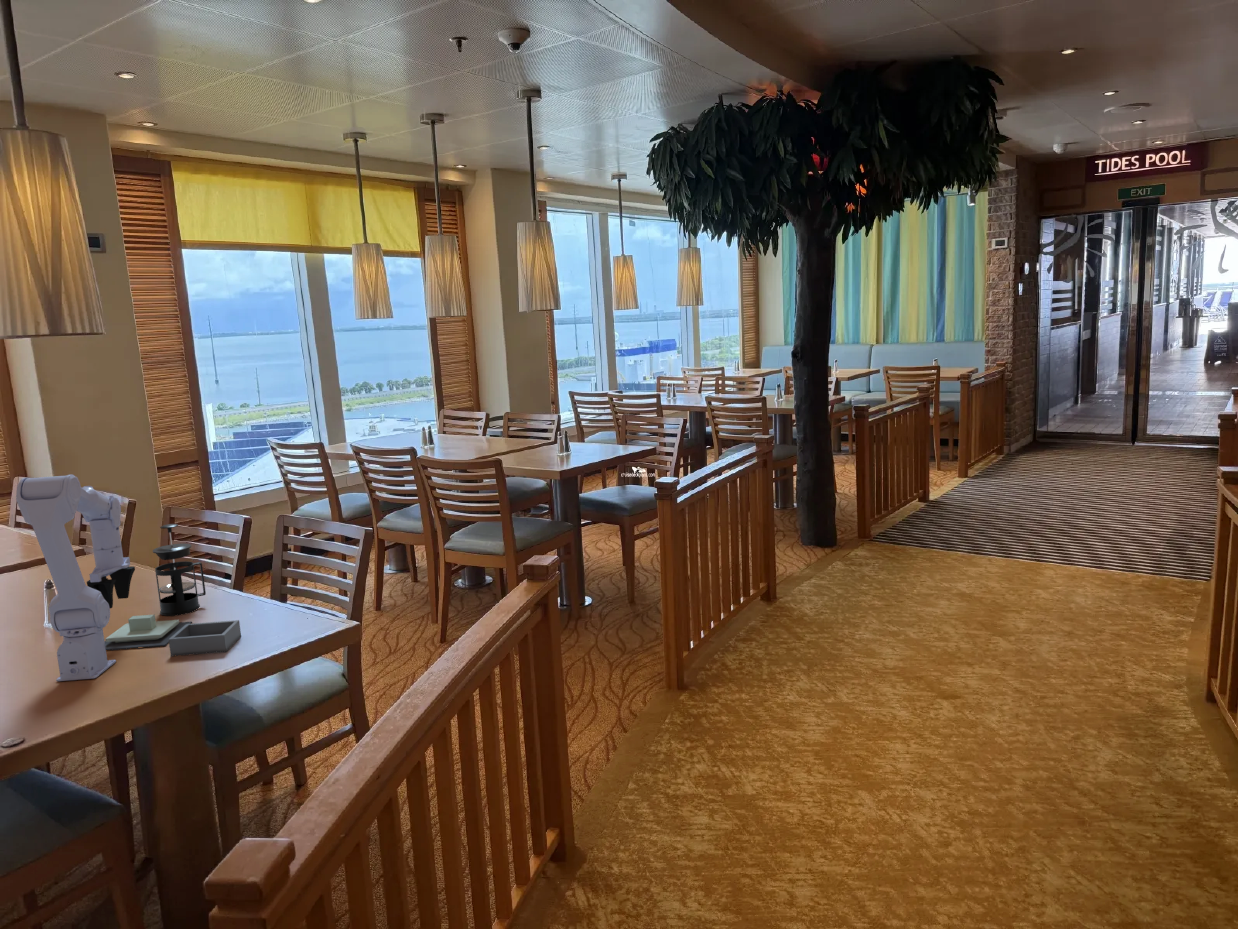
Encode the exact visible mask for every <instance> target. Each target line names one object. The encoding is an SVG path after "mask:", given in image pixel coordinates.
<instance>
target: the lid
mask: <svg viewBox="0 0 1238 929" xmlns="http://www.w3.org/2000/svg"><path fill="white" fill-rule="evenodd" d="M127 620H128V623H125V624H123V625H122V626H120V628H118V629H117V630H116V631H114V632H113V633H111V634H110V635H108V636H107V637H106V638H104V641H106V642H112V641H115V642H130V641H143V640H156V639H159V638H162V637H163V636H164V635H165V634H166V633H168V632H169V631H170V630H171V629H173V628H174V627H175V626H176V625H177V624H179V622H180V619H171V620H156V614H143V615H132V616H131V617H130V618H128V619H127Z"/></svg>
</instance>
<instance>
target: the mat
mask: <svg viewBox="0 0 1238 929" xmlns="http://www.w3.org/2000/svg"><path fill="white" fill-rule="evenodd" d="M191 623H192V624H193V621H182V622H181V621H179V624H177V625H176V626H175V627H174V628H173V629H171V630H170V631H169V632H168V633H166V634H165V635H164V636H163V637H162V638H159V639H156V640H143V641H130V642H115V641H112V642H106V640H104V641H105V648H106V650H111V651H121V650H120V649H124V650H131V649H130V648H137V649H139V648H138V647H150V648H158V647H159V648H161V647H160V646H163V647H166V646H168V645H169V644H168V643H169V638H171V637H172V636H173V635H174V634H175V633H176V632H178V631H179V630H180V629H181V628H182V627H183V626H185V625H186V624H191Z"/></svg>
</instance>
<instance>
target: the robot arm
mask: <svg viewBox="0 0 1238 929" xmlns="http://www.w3.org/2000/svg"><path fill="white" fill-rule="evenodd" d="M15 495H16V496H15V500H16V503H17V506H18V508H19V511H20V513H21V516H22V517H23V521H24V522H25V523H27V524H28V525H31V527H32V529H33V531H34V535H35V536H36V539H37V542H38V544H39V546H40V547H39V548H40V549H41V552H42V554H43V557H44V559H45V560H44V561H45V563H46V565H47V568H48V570H49V572H50V576H51V578H52V580H53V584H54V586H55V588H56V589H55V590H56V591H57V593H56V595H55V596H53V598H51V600H50V602H49V605H48V612H49V622H50V625H51V627H52V629H53V630H54V631H55V632H56V633H59V637H63V640H62V642H61V644H60V645H59V646H58V648H57V652H56V657H57V665H58V669H59V675H60V676H58V677H57V678H56V680H55V681H56V682H65V681H77V680H78V681H79V680H90V679H92V680H93V679H97V678H98V677H99V676H101V674H103V673H104V672H105V671H106V670H108V669H109V668H110V667H111V666H113V665H114V664H115V663H116V662H117V660H116V659H109V660H108V656H107V651H106V648H105V641H106V640H105V636H104V635H105V634H104V628H105V627H106V626H107V625H108V624H109V622H110V618H111V609H112V608H113V606H114V590H115V593H116V598H117V599H119V600H121V599H123V600H124V599H128V598H129V596H130V589H131V583H132V582H131V581H132V577H133V575H134V572H135V570H136V568H135V566H134V565H133V566H131V560H130V559H131V558H130V557H129V556H127V557H126V556H125V557H124V554H123V552H124V551H123V547H122V541H121V540H122V539H121V531H120V526H121V515H122V514H121V512H122V506H121V502H120V500H119V498H118V497H114V496H113V495H108V496H106V495H105V494H103V493H102V492H100V491H97V490H96V489H94V487H93V486H92V485H84V486H81V482H80V480H79V478H78V476H76V475H74V474H67V475H58V476H55V475H54V476H40V477H22V478H21V479H20V480H19V482H18V483H17V486H16V494H15ZM77 512H79V513H80V514H81V515H82V517H83V519H84V521H85V522H86V523H89V530H90V531H89V532H90V536H91V543H92V550H93V558H94V564H95V567H94V569H93V570H92V572H91V573H89V579H88V580H87V581H86V582H85V579H84V577H83V574H82V571H81V568H80V566H79V562H78V560H77V556H76V555H75V552H74V551H75V550H74V549H73V546H72V544H71V540H70V538H69V536H68V533H67V529H66V527H65V524H67V523H69V522H70V521H72V520H73V519H75V516H76V513H77ZM108 576H109V577H110V579H109V578H107V577H108Z"/></svg>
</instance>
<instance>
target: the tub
mask: <svg viewBox="0 0 1238 929" xmlns="http://www.w3.org/2000/svg"><path fill="white" fill-rule="evenodd" d="M241 632H242V630H241V623H240V619H236V620H226V621H225V620H224V621H210V622H195V623H192V624H186V625H185V626H183V627H182V628H181V629H180V630H179V631H178V632H176V633H175V634H174V635H173V636H172V637H171V638H169V644H168V645H169V653H170V657H178V655H181V656H189V654H194V655H203V654H204V655H205V654H206V655H208V654H218V653H219V654H220V653H227V652H228V651H229V650H230V649H231V648H232V647H233V646H234V645H235V643H237V641H239V639H240V638H241V637H242V633H241ZM230 647H231V648H230ZM175 655H176V656H175Z"/></svg>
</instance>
